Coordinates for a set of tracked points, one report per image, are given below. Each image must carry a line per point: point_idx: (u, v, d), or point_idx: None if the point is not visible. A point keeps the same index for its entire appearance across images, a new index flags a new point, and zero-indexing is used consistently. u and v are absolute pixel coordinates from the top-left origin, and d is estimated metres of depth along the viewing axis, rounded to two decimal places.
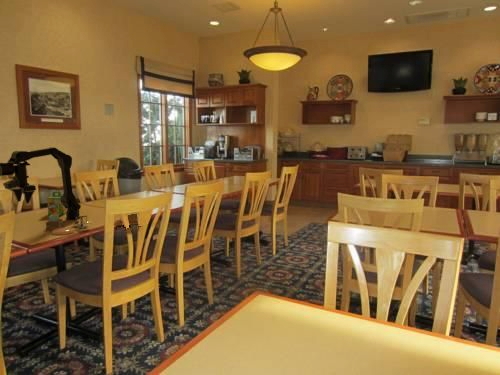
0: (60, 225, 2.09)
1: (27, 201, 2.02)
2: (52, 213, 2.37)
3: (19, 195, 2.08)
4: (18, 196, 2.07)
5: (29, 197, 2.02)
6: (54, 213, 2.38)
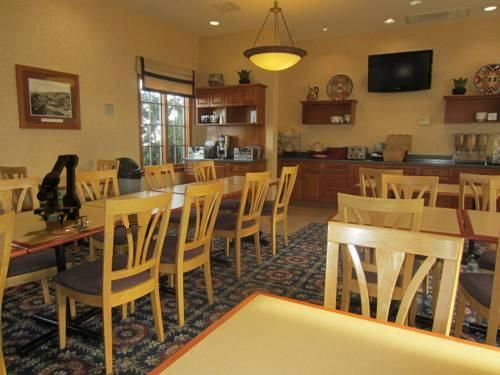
0: (60, 225, 2.09)
1: (62, 223, 2.09)
2: None
3: (47, 220, 2.08)
4: None
5: (63, 219, 2.10)
6: (54, 213, 2.38)
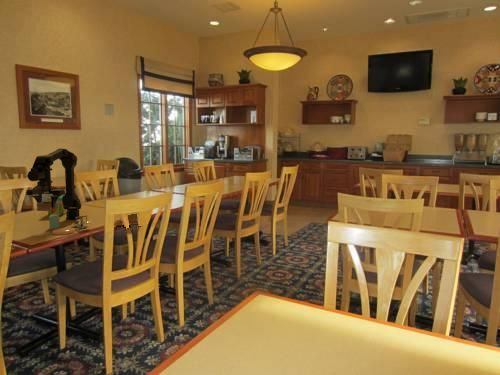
0: (51, 207, 2.02)
1: (53, 206, 2.02)
2: (52, 213, 2.37)
3: (40, 201, 2.03)
4: None
5: (55, 201, 2.03)
6: (54, 213, 2.38)
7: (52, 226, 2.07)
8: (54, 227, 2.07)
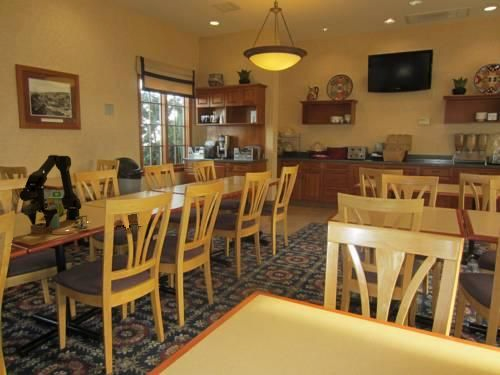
0: (44, 230, 1.98)
1: (48, 225, 1.98)
2: None
3: (34, 219, 2.01)
4: (33, 221, 2.00)
5: (50, 221, 1.98)
6: None
7: (52, 226, 2.07)
8: (54, 227, 2.07)
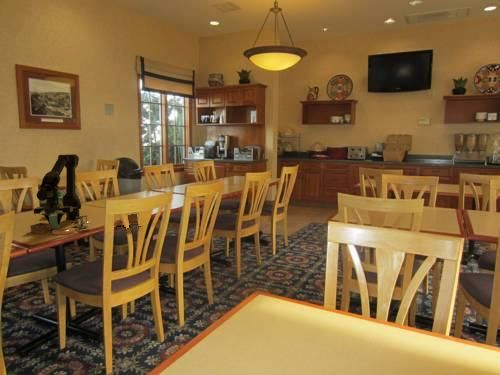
0: (44, 230, 1.98)
1: (59, 222, 2.09)
2: (52, 213, 2.37)
3: None
4: None
5: (61, 218, 2.10)
6: (54, 213, 2.38)
7: (52, 226, 2.07)
8: (54, 227, 2.07)
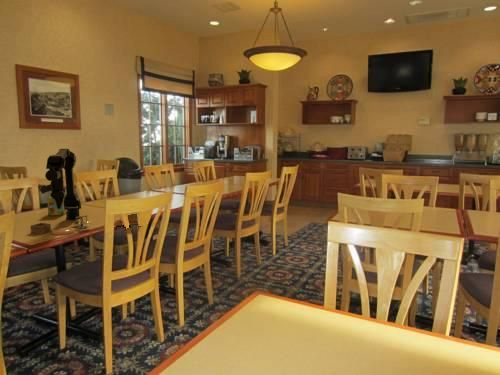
0: (44, 230, 1.98)
1: (58, 206, 1.97)
2: (52, 213, 2.37)
3: None
4: None
5: (60, 203, 1.97)
6: (54, 213, 2.38)
7: None
8: None
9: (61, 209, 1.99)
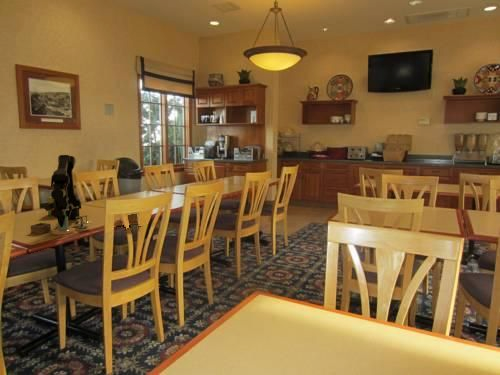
0: (44, 230, 1.98)
1: (61, 225, 1.96)
2: None
3: None
4: None
5: (62, 221, 1.95)
6: None
7: None
8: None
9: (64, 229, 1.98)
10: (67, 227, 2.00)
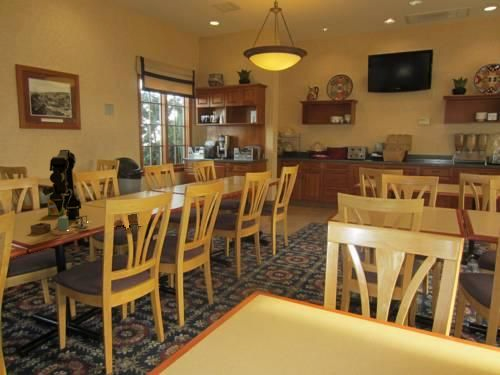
0: (44, 230, 1.98)
1: (59, 210, 1.93)
2: (52, 213, 2.37)
3: (65, 202, 2.02)
4: (64, 203, 2.03)
5: (60, 206, 1.92)
6: (54, 213, 2.38)
7: None
8: None
9: (64, 229, 1.98)
10: (67, 227, 2.00)
